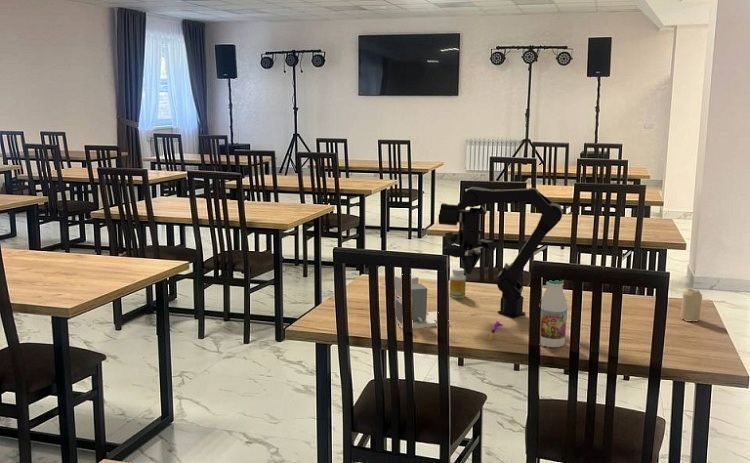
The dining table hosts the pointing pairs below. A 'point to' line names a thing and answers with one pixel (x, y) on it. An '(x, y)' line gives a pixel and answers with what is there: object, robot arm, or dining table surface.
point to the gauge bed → (430, 321)
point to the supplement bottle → (457, 283)
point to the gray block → (419, 302)
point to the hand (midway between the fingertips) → (468, 273)
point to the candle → (691, 305)
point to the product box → (398, 283)
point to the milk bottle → (553, 315)
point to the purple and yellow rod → (494, 329)
